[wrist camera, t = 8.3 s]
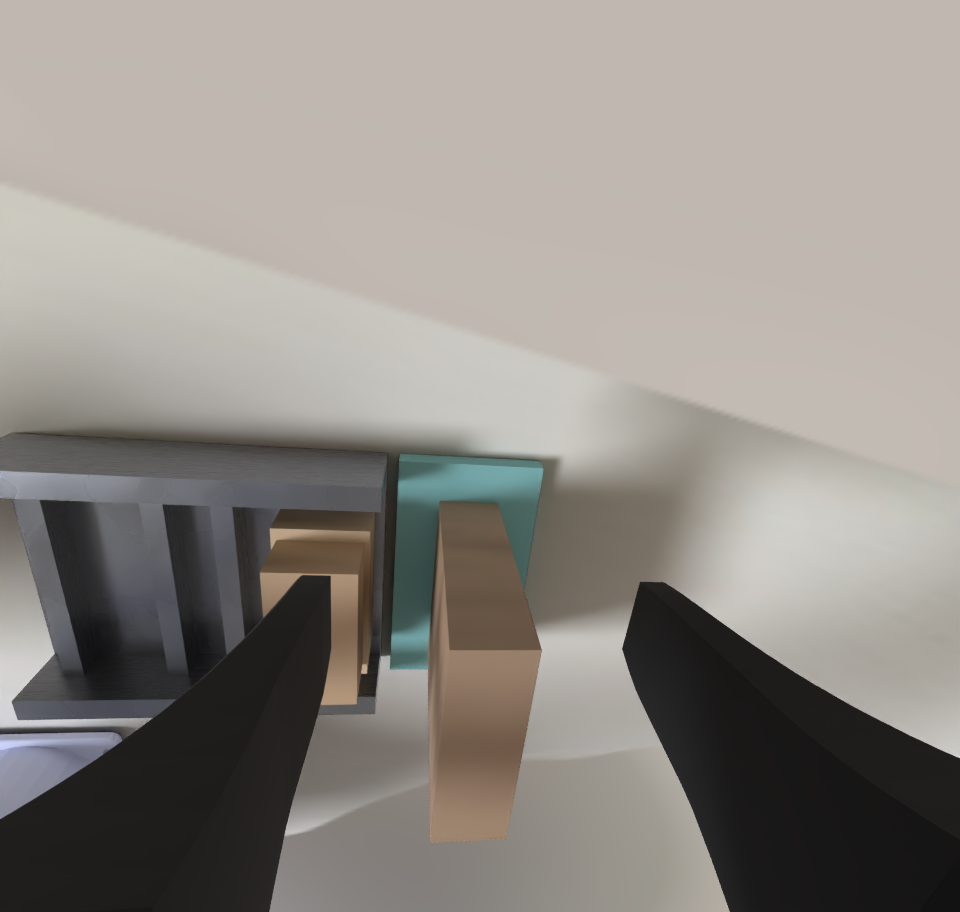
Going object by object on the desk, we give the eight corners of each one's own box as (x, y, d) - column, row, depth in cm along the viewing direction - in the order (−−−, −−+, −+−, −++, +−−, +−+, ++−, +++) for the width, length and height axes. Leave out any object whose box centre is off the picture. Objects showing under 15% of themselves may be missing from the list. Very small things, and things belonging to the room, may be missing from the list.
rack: (380, 657, 25) (375, 713, 22) (71, 657, 23) (17, 720, 20) (387, 452, 21) (381, 487, 18) (12, 432, 19) (-67, 467, 16)
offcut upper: (362, 664, 21) (356, 704, 19) (283, 665, 21) (270, 705, 19) (364, 543, 19) (358, 574, 17) (276, 540, 18) (260, 572, 17)
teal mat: (508, 656, 26) (511, 668, 25) (390, 657, 25) (389, 669, 24) (539, 461, 22) (543, 468, 21) (399, 453, 21) (399, 460, 20)
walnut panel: (479, 649, 24) (506, 838, 16) (427, 649, 24) (430, 842, 16) (497, 503, 21) (541, 650, 13) (439, 500, 21) (449, 650, 13)
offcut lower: (372, 636, 23) (367, 673, 21) (291, 636, 23) (279, 674, 21) (375, 504, 21) (370, 531, 19) (285, 500, 20) (269, 528, 18)
